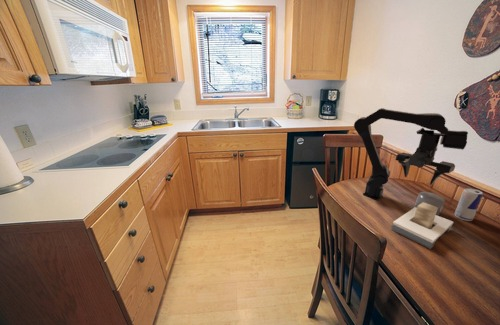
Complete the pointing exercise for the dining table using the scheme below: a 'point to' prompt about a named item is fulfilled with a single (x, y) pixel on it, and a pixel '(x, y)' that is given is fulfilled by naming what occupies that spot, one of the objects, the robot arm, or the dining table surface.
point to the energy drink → (468, 204)
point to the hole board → (421, 229)
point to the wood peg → (425, 215)
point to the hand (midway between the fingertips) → (417, 180)
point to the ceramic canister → (430, 200)
